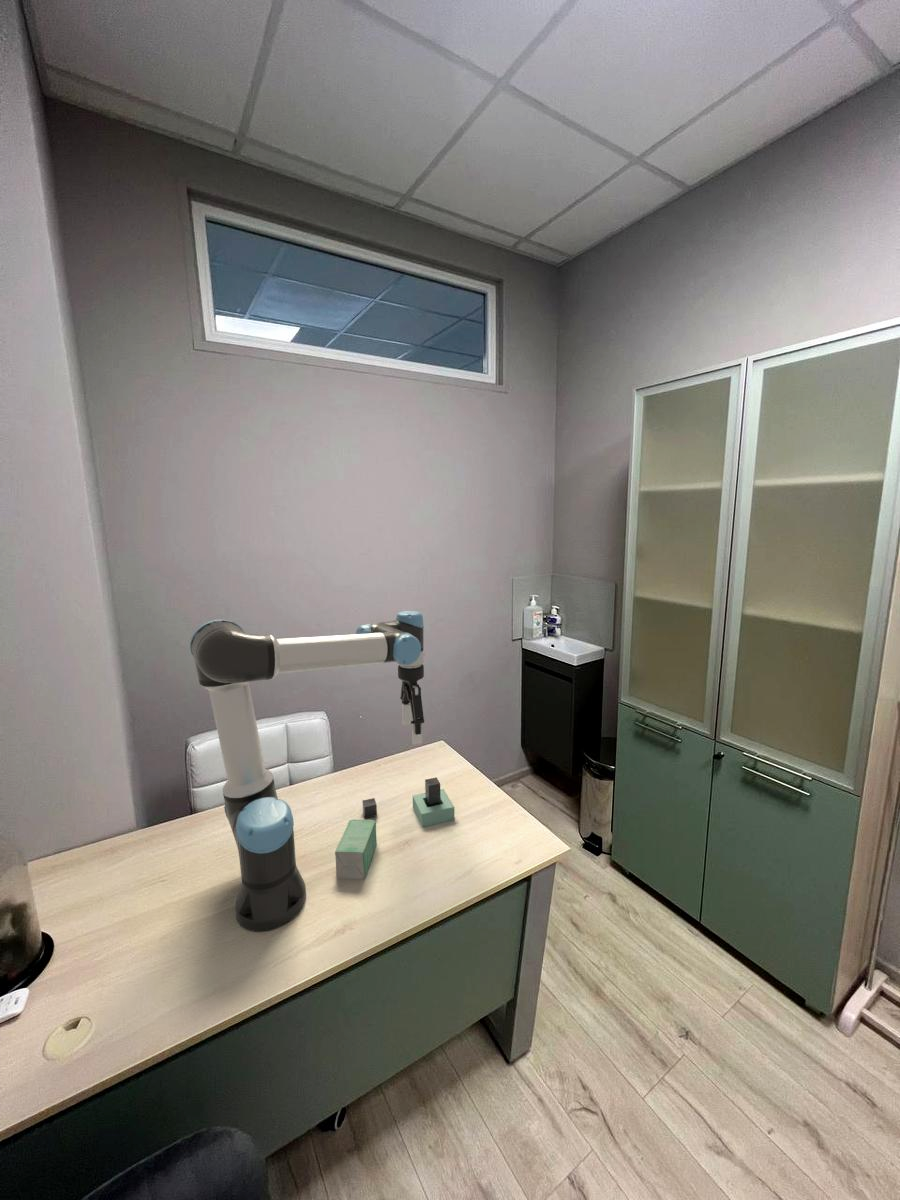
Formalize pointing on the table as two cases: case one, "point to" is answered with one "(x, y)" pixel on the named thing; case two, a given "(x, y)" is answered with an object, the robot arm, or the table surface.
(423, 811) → the hole block
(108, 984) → the table surface
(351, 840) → the box
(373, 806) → the short pin
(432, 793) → the long pin
